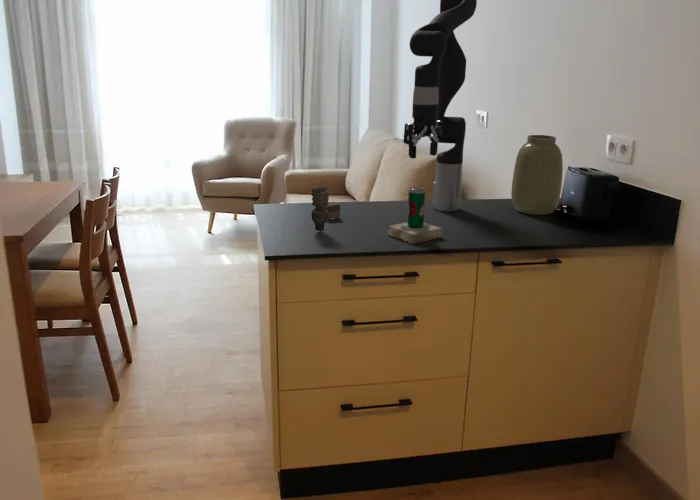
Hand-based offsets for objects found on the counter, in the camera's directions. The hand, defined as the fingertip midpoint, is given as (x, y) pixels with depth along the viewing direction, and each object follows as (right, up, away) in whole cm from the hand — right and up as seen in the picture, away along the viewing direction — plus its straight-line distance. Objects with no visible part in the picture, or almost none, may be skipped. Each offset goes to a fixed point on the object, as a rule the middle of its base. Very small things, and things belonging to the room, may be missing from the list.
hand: (422, 156), depth 190 cm
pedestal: (-2, -24, +6) cm, 25 cm away
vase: (+45, -14, +39) cm, 62 cm away
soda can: (-2, -21, +5) cm, 22 cm away
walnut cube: (-29, -13, +24) cm, 40 cm away
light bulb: (-32, -23, +8) cm, 40 cm away
